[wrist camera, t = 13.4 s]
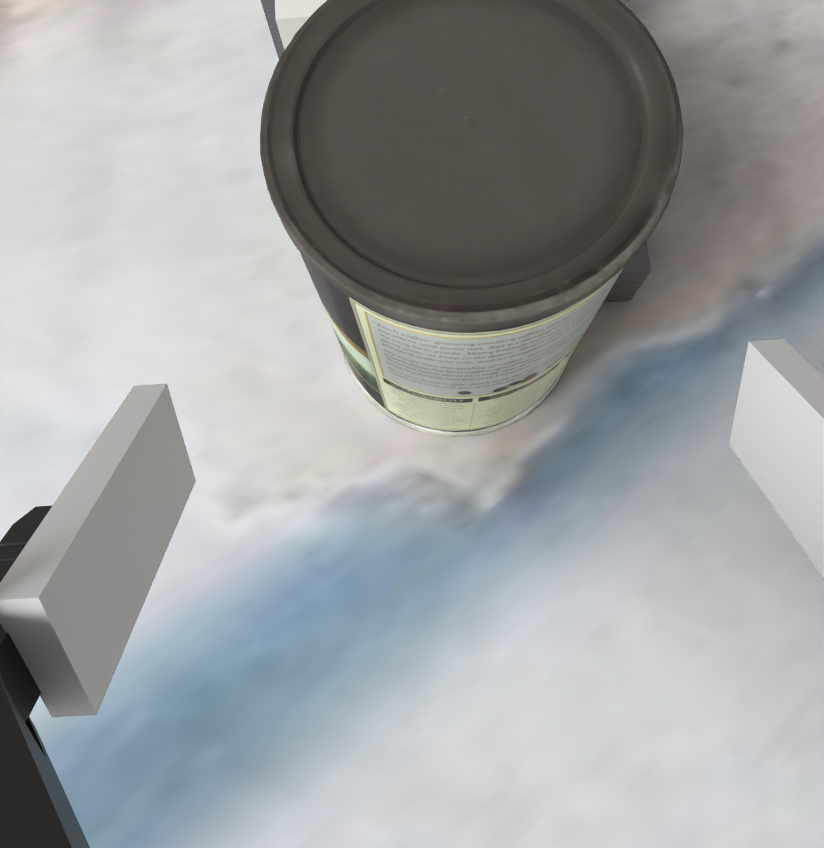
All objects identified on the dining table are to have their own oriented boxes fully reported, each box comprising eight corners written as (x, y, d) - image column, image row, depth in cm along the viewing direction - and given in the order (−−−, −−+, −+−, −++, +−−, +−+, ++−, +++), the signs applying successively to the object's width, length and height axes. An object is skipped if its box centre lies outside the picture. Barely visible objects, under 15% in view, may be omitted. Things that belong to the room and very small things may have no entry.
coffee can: (291, 350, 31) (172, 166, 17) (431, 177, 32) (424, -119, 19) (484, 489, 29) (523, 408, 15) (621, 299, 31) (766, 73, 17)
